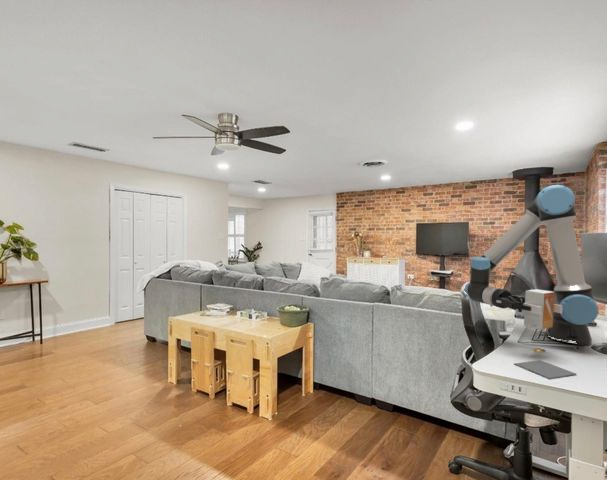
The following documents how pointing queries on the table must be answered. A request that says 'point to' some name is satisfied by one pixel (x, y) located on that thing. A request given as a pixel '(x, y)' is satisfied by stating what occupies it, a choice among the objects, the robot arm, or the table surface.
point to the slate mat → (545, 369)
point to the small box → (547, 304)
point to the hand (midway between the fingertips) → (551, 310)
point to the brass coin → (539, 350)
